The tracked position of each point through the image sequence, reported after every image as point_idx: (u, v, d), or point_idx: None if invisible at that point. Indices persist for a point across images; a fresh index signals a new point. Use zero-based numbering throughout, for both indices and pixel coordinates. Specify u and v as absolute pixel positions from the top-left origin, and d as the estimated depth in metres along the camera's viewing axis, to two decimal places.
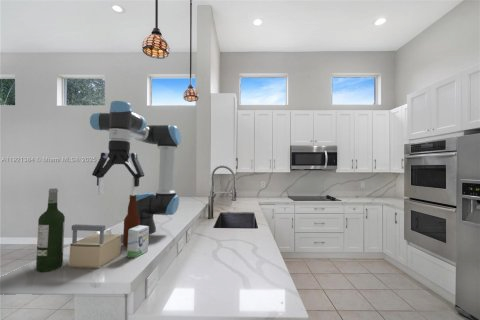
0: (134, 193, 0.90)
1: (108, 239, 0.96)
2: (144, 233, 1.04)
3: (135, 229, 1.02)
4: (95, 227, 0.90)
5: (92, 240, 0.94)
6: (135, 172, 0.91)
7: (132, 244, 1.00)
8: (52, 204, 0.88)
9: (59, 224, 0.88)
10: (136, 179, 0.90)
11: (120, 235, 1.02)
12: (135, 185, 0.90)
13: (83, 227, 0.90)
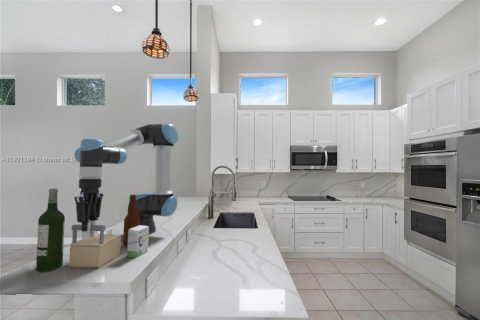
0: (84, 237, 0.89)
1: (108, 239, 0.96)
2: (144, 233, 1.05)
3: (135, 229, 1.02)
4: (95, 227, 0.90)
5: (92, 240, 0.94)
6: None
7: (132, 244, 1.00)
8: (52, 204, 0.88)
9: (59, 224, 0.88)
10: None
11: (120, 235, 1.02)
12: None
13: None
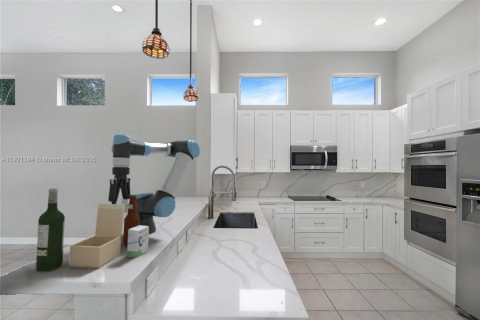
0: None
1: None
2: (144, 233, 1.05)
3: (135, 229, 1.02)
4: None
5: None
6: None
7: (132, 244, 1.00)
8: (52, 204, 0.88)
9: (59, 224, 0.88)
10: None
11: (121, 235, 1.03)
12: None
13: None
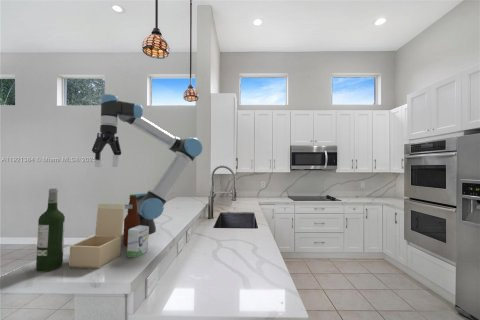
0: (97, 165, 1.11)
1: None
2: (144, 233, 1.05)
3: (135, 229, 1.02)
4: None
5: None
6: None
7: (132, 244, 1.00)
8: (52, 204, 0.88)
9: (59, 224, 0.88)
10: None
11: (121, 235, 1.03)
12: None
13: None
